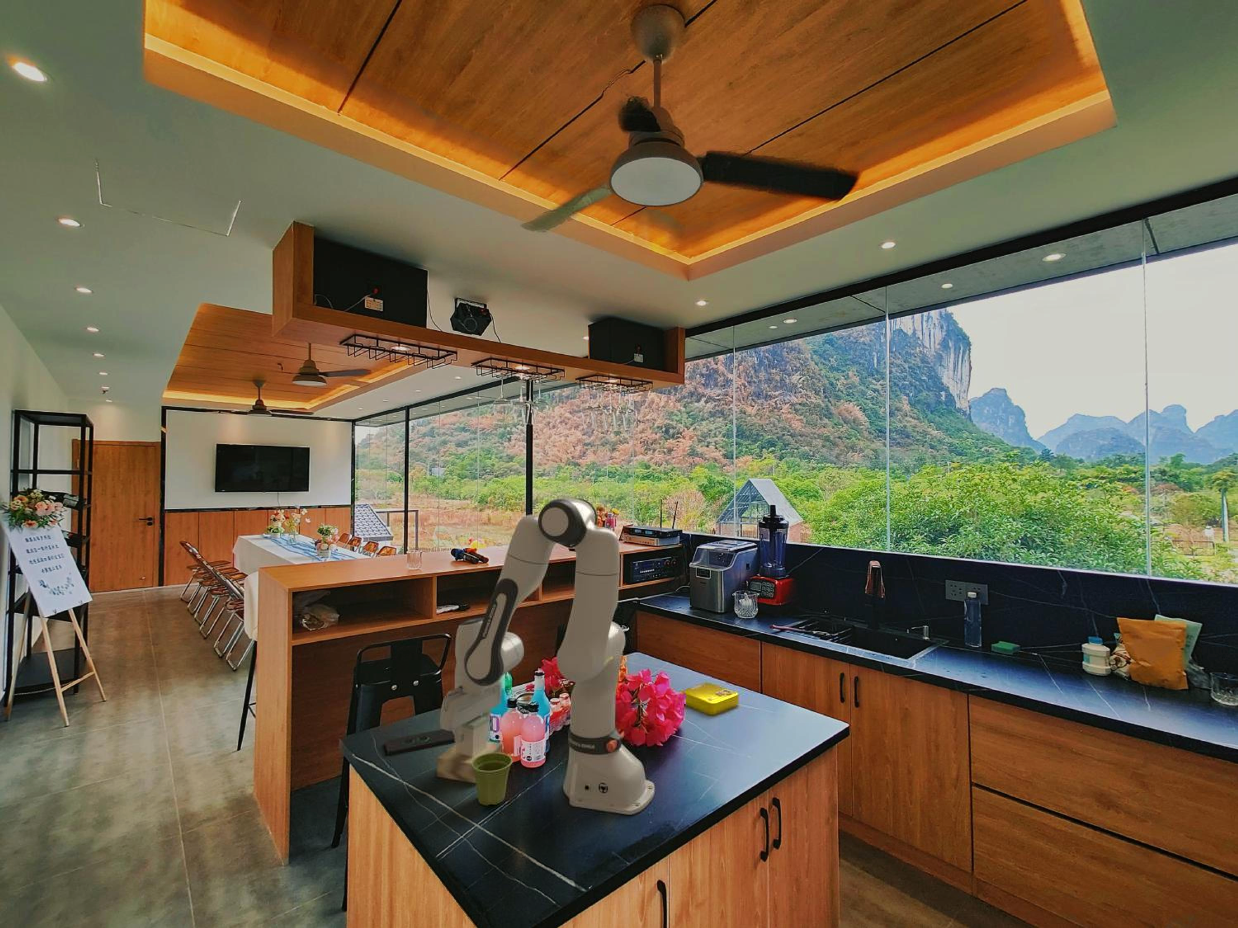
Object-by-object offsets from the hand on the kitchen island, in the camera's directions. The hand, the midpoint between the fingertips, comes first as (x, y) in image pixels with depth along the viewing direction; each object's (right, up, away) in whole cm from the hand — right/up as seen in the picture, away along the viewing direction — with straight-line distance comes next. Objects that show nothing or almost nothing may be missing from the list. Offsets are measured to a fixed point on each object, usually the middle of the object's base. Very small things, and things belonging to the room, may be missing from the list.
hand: (471, 734), depth 146 cm
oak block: (0, -9, 0) cm, 9 cm away
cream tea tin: (0, -4, 0) cm, 4 cm away
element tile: (+70, -12, +44) cm, 84 cm away
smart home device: (-18, -10, +14) cm, 25 cm away
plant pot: (+9, -8, -15) cm, 19 cm away
